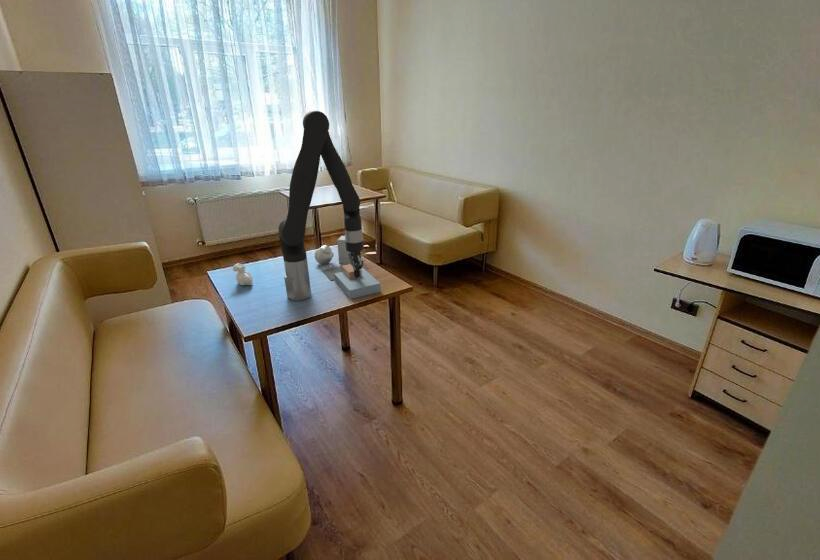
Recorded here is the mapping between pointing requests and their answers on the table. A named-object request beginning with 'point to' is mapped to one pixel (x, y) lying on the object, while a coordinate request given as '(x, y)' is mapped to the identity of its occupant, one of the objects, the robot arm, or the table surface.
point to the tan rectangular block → (349, 271)
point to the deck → (357, 284)
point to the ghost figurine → (324, 255)
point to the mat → (332, 272)
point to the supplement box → (343, 251)
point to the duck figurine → (242, 275)
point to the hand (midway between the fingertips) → (357, 276)
